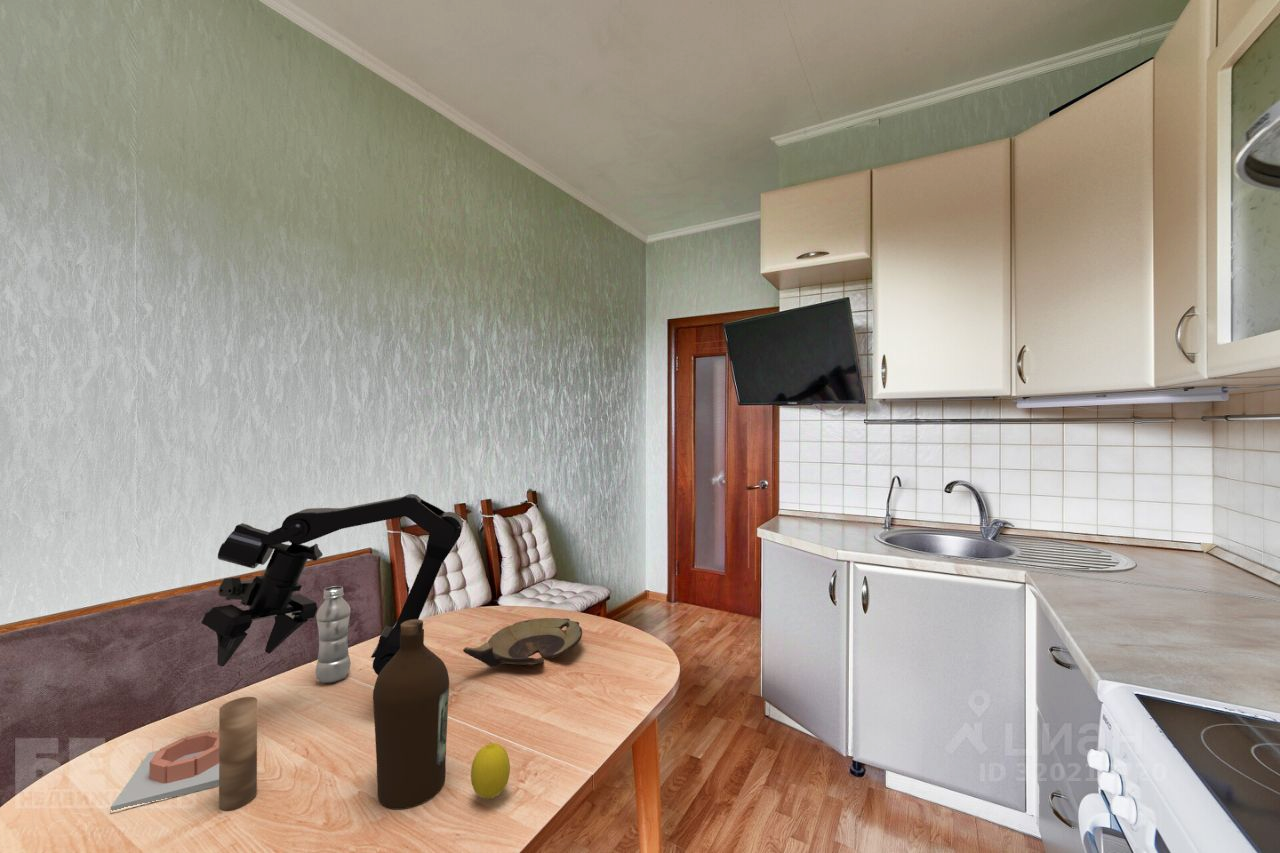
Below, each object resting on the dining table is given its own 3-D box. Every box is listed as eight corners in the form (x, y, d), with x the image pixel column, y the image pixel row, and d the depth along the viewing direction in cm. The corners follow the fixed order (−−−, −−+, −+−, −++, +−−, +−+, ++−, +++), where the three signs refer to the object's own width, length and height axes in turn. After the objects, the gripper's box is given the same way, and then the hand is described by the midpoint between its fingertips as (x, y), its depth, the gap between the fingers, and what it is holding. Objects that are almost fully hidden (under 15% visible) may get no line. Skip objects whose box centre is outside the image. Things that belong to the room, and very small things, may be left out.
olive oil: (368, 821, 71) (368, 640, 71) (377, 774, 81) (377, 615, 81) (449, 801, 75) (449, 629, 75) (449, 758, 85) (448, 607, 85)
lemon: (475, 786, 78) (475, 733, 78) (512, 784, 78) (512, 731, 78) (466, 813, 72) (466, 756, 72) (506, 810, 73) (506, 754, 73)
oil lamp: (599, 662, 120) (599, 629, 120) (467, 693, 106) (466, 656, 106) (567, 630, 140) (567, 602, 140) (451, 653, 126) (451, 621, 126)
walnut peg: (259, 785, 78) (259, 694, 79) (253, 804, 74) (253, 707, 75) (223, 795, 76) (223, 701, 76) (215, 814, 72) (215, 715, 73)
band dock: (252, 735, 92) (252, 715, 92) (233, 781, 79) (233, 759, 79) (148, 758, 85) (148, 737, 85) (110, 813, 73) (110, 789, 73)
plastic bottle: (308, 684, 110) (308, 591, 111) (337, 670, 117) (337, 582, 117) (329, 689, 108) (329, 594, 108) (357, 675, 114) (357, 585, 115)
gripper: (291, 556, 105) (258, 630, 103) (199, 562, 87) (157, 652, 85) (333, 577, 103) (300, 653, 101) (247, 588, 85) (205, 681, 83)
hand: (245, 658), depth 93 cm, fingers open, 9 cm apart
